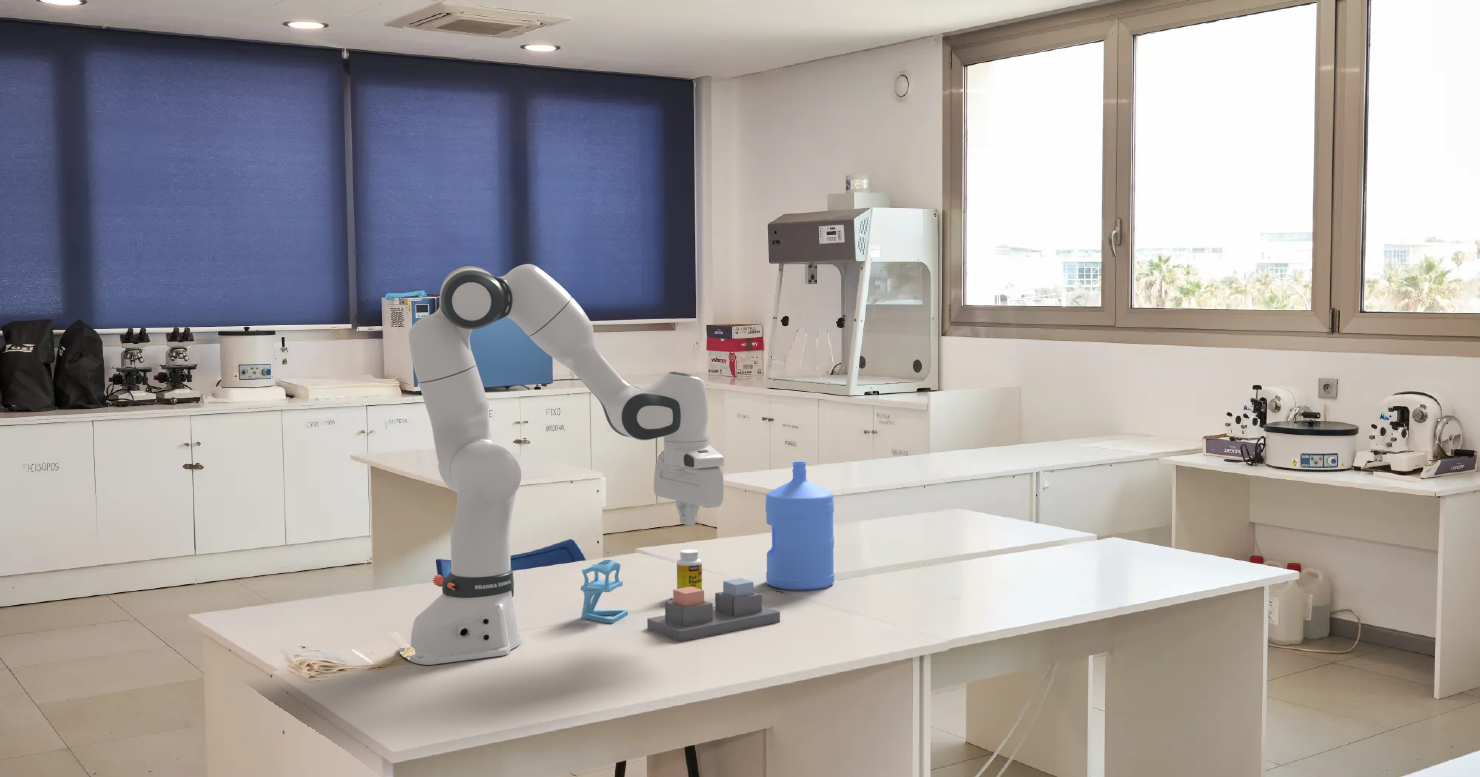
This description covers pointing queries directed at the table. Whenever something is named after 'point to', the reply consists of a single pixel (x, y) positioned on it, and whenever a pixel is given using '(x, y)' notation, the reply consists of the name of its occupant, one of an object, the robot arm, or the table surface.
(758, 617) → the grey piece
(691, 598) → the terracotta key
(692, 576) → the supplement bottle
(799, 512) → the water jug
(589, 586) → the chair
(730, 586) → the slate key
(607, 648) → the table surface
